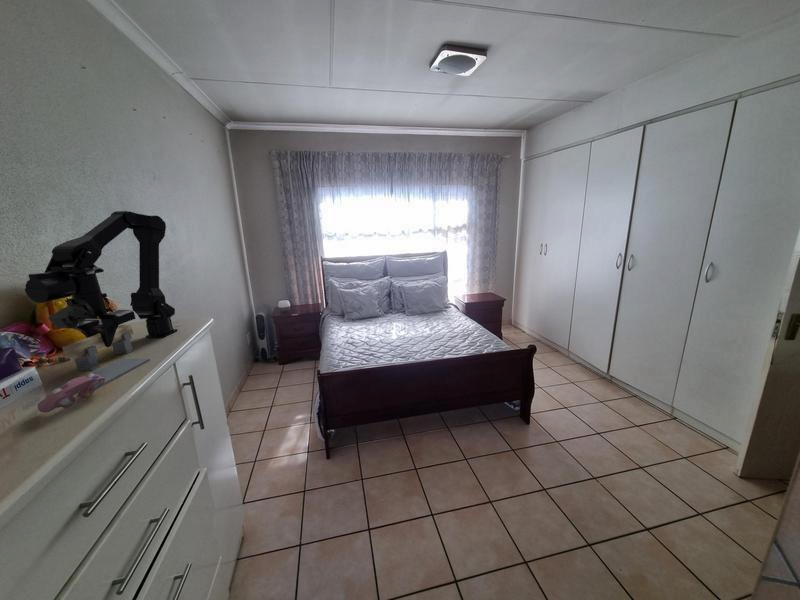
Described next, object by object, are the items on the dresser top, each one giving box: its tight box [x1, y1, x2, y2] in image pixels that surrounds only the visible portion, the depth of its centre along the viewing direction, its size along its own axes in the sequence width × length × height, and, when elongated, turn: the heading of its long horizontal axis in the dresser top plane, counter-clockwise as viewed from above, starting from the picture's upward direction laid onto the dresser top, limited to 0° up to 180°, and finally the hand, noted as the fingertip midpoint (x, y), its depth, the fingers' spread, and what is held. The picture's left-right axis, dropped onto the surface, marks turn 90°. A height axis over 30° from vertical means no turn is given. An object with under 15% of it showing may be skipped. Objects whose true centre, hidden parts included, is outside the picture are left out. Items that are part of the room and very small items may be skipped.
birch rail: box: [61, 324, 134, 359], centre depth 86 cm, size 16×3×3 cm, turn 175°
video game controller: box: [37, 372, 105, 414], centre depth 66 cm, size 10×5×7 cm
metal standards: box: [73, 332, 134, 371], centre depth 87 cm, size 12×6×6 cm, turn 175°
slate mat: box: [58, 357, 151, 389], centre depth 79 cm, size 16×9×1 cm, turn 175°
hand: (103, 346), depth 87 cm, fingers closed on birch rail, 3 cm apart
